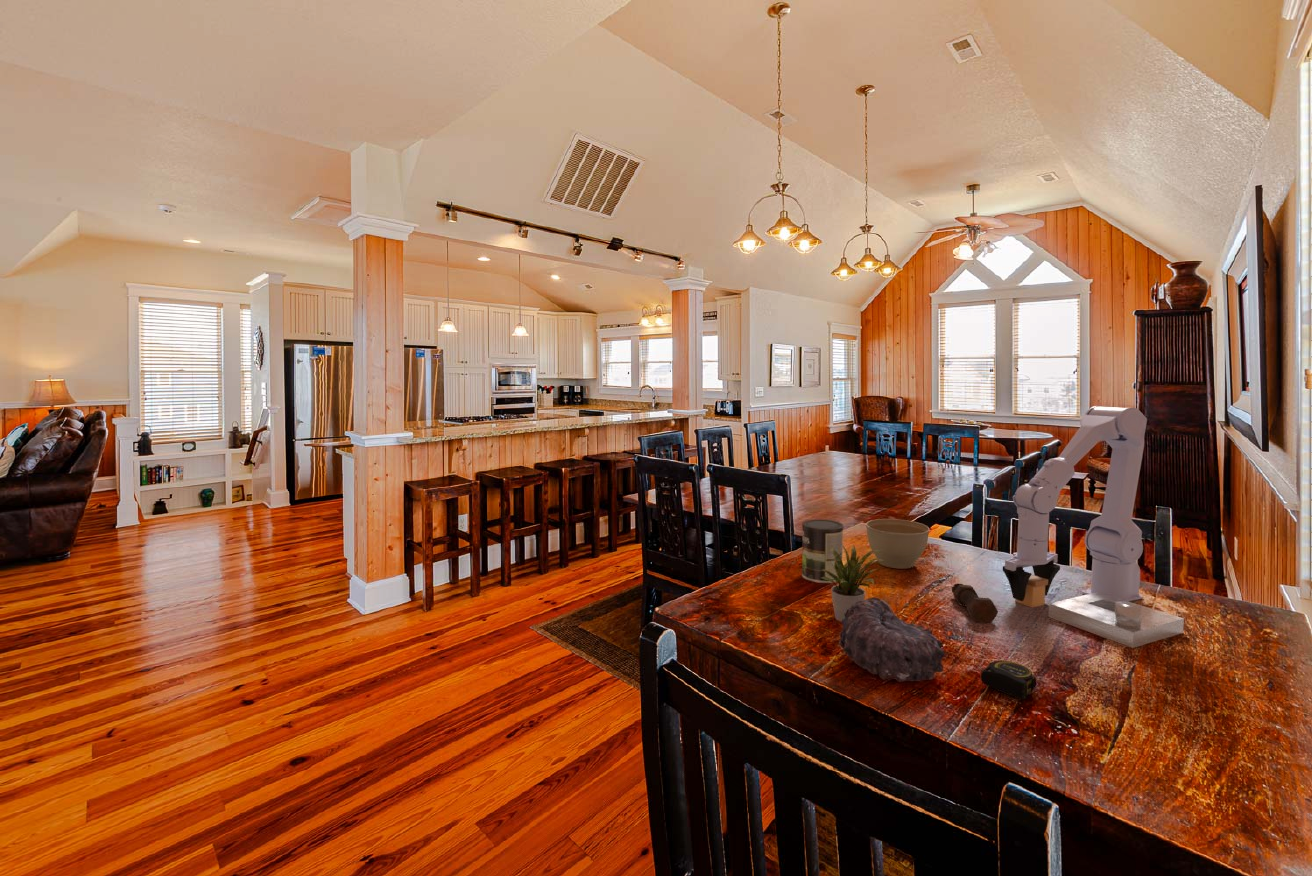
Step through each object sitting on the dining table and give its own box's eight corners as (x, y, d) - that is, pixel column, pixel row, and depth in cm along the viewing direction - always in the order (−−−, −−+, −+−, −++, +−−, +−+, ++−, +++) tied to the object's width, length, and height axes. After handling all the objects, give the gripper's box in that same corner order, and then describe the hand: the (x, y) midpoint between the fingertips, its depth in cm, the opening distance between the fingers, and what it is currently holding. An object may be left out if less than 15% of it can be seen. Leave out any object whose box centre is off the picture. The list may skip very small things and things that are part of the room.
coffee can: (804, 583, 149) (804, 528, 147) (799, 570, 159) (800, 518, 158) (846, 584, 147) (847, 529, 146) (839, 571, 157) (839, 519, 156)
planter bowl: (871, 572, 156) (872, 532, 155) (860, 554, 172) (861, 518, 171) (936, 574, 153) (937, 534, 152) (919, 556, 169) (920, 519, 168)
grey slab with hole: (1096, 605, 131) (1098, 574, 131) (1182, 632, 117) (1185, 598, 116) (1048, 616, 125) (1049, 585, 125) (1132, 648, 111) (1135, 612, 110)
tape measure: (977, 688, 98) (978, 666, 97) (998, 675, 102) (999, 655, 101) (1022, 706, 92) (1023, 683, 92) (1042, 692, 96) (1043, 670, 96)
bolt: (961, 605, 138) (987, 629, 123) (941, 593, 138) (965, 617, 123) (975, 584, 137) (1002, 606, 122) (955, 573, 138) (980, 594, 123)
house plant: (900, 618, 126) (902, 543, 124) (873, 639, 116) (875, 558, 114) (837, 601, 136) (838, 532, 134) (808, 620, 126) (808, 545, 124)
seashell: (853, 644, 118) (807, 621, 111) (891, 594, 116) (848, 568, 109) (925, 717, 101) (877, 696, 94) (971, 660, 100) (925, 634, 93)
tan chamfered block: (1024, 597, 136) (1025, 572, 136) (1046, 605, 132) (1048, 579, 131) (1012, 600, 135) (1013, 575, 134) (1034, 608, 130) (1036, 582, 130)
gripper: (1037, 530, 138) (1034, 586, 140) (993, 537, 133) (991, 595, 134) (1068, 537, 132) (1064, 596, 133) (1023, 545, 126) (1020, 606, 128)
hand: (1029, 596), depth 133 cm, fingers open, 7 cm apart
